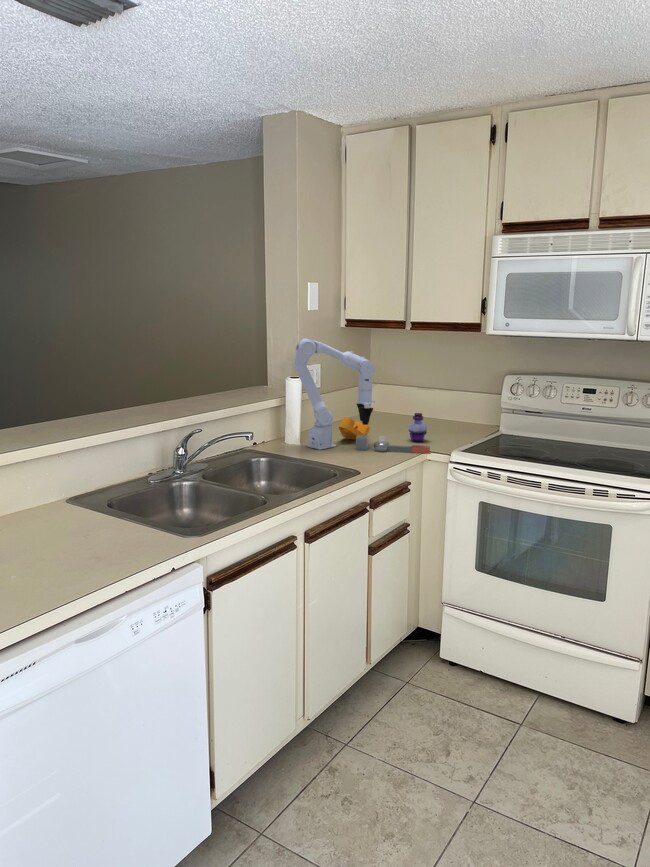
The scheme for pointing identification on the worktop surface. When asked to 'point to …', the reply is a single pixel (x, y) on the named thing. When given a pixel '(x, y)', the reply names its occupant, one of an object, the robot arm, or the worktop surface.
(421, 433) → the potion bottle
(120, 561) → the worktop surface
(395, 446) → the ratchet
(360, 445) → the grey brushed cube
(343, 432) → the bracket
